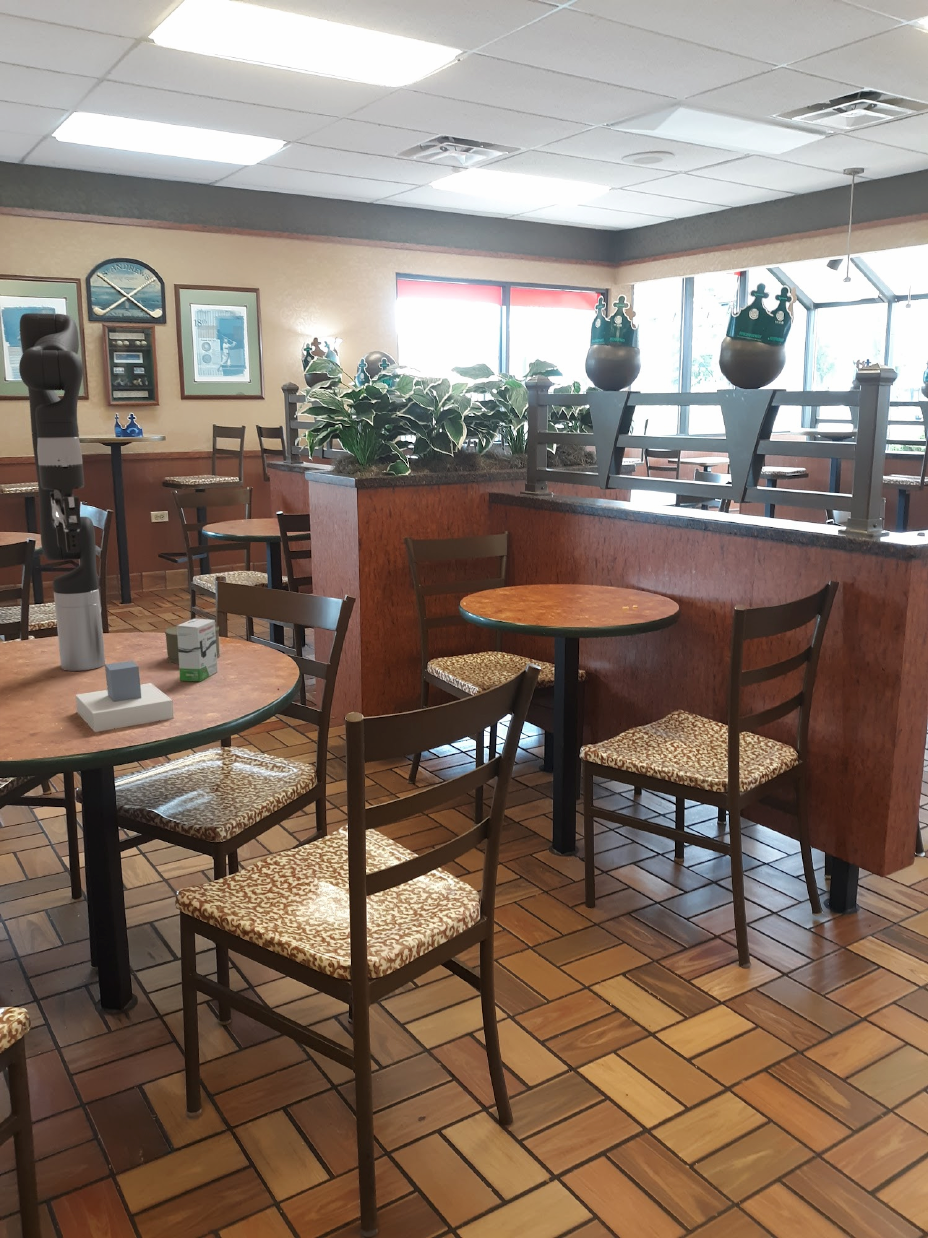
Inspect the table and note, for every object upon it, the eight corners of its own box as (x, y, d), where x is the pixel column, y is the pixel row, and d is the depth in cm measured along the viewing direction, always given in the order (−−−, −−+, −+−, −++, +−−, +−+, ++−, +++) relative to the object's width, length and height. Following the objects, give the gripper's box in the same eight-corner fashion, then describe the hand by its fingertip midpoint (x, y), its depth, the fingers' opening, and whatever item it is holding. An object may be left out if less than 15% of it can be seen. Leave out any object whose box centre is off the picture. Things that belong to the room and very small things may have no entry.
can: (164, 666, 215) (162, 636, 214) (169, 653, 227) (166, 624, 225) (220, 662, 218) (218, 633, 216) (221, 650, 229) (219, 622, 228)
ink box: (200, 682, 202) (196, 626, 199) (178, 681, 203) (174, 626, 200) (219, 671, 210) (215, 618, 207) (198, 670, 211) (194, 617, 208)
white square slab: (77, 715, 182) (75, 694, 181) (152, 702, 190) (150, 683, 189) (95, 735, 171) (93, 713, 170) (173, 720, 178) (172, 700, 177)
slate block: (108, 695, 181) (104, 664, 179) (135, 691, 183) (132, 660, 182) (113, 702, 176) (110, 670, 175) (141, 697, 179) (138, 666, 178)
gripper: (32, 461, 182) (40, 547, 185) (45, 464, 170) (54, 556, 173) (74, 460, 186) (82, 544, 189) (90, 463, 174) (98, 552, 177)
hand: (68, 549), depth 181 cm, fingers open, 8 cm apart
